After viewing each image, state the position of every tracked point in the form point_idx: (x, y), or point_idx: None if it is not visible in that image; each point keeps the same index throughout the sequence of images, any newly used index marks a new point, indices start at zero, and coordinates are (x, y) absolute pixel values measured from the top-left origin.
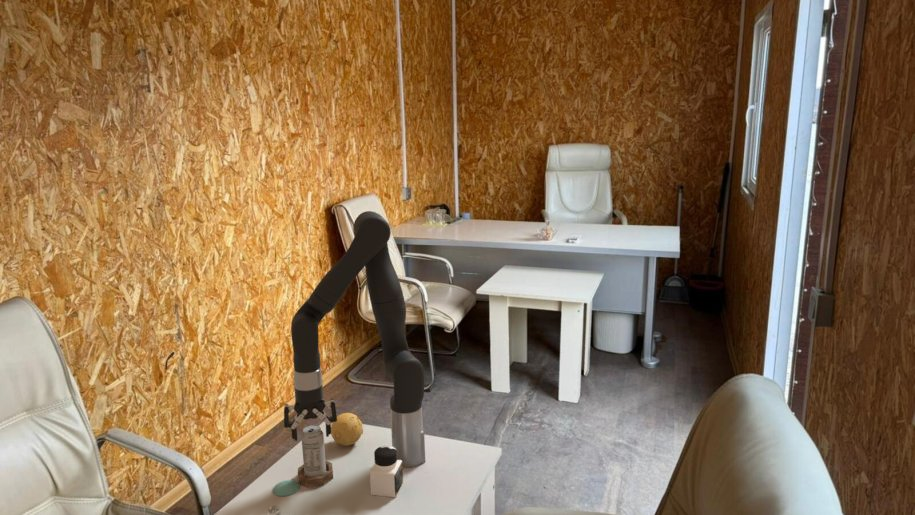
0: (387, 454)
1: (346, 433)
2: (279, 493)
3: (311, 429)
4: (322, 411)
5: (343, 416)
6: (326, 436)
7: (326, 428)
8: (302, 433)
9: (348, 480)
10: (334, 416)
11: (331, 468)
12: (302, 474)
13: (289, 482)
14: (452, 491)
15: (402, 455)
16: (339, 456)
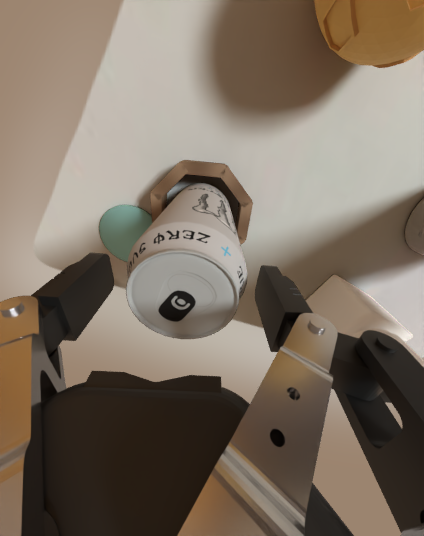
0: (388, 401)
1: (387, 47)
2: (118, 253)
3: (180, 299)
4: (307, 411)
5: None
6: (255, 297)
7: (268, 333)
8: (129, 276)
9: (273, 251)
10: (369, 426)
11: (244, 230)
12: (167, 192)
13: (135, 218)
14: (420, 338)
15: None
16: (291, 110)
